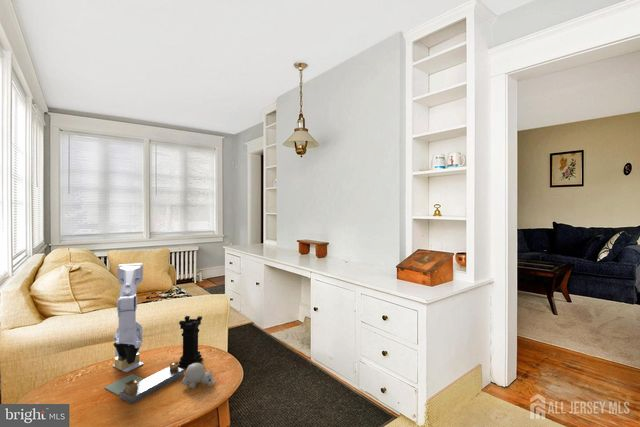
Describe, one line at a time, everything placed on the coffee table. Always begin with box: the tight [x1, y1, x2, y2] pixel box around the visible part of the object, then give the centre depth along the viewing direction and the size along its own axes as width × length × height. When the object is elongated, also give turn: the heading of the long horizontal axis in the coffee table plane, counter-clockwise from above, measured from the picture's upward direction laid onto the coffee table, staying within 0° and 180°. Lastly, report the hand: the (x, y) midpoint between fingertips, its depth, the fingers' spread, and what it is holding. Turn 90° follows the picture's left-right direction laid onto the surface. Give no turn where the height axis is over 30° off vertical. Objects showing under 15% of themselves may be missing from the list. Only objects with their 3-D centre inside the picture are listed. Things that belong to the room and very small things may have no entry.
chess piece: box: [178, 315, 204, 369], centre depth 145 cm, size 8×8×20 cm
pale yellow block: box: [114, 352, 140, 371], centre depth 128 cm, size 7×4×4 cm, turn 152°
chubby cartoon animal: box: [181, 362, 216, 390], centre depth 129 cm, size 7×12×8 cm, turn 89°
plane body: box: [119, 361, 185, 405], centre depth 128 cm, size 22×7×6 cm, turn 152°
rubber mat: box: [103, 373, 145, 397], centre depth 129 cm, size 9×11×1 cm
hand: (127, 361), depth 128 cm, fingers closed on pale yellow block, 4 cm apart
